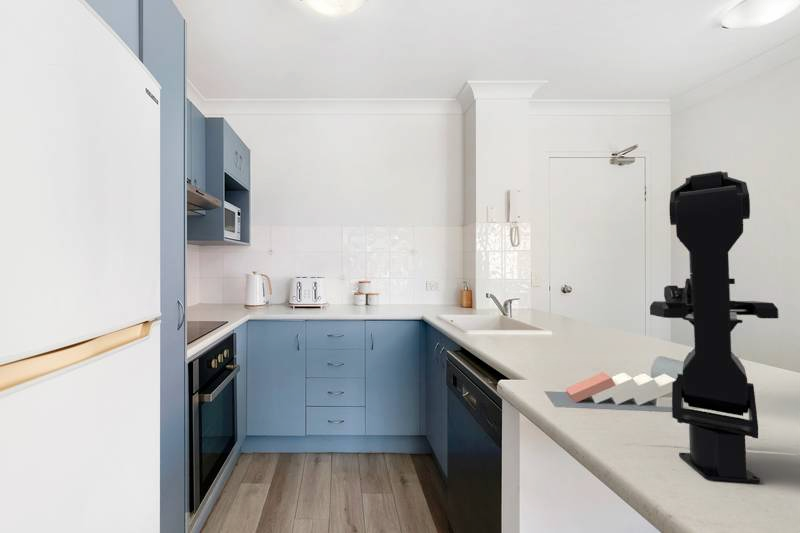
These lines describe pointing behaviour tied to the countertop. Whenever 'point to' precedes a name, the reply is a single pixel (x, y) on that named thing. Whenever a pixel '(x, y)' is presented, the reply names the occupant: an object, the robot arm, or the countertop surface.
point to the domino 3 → (636, 388)
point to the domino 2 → (615, 387)
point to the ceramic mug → (666, 367)
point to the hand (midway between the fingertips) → (712, 354)
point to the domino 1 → (590, 387)
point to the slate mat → (601, 403)
